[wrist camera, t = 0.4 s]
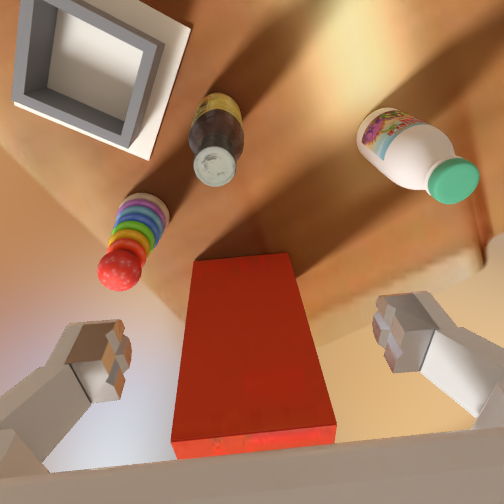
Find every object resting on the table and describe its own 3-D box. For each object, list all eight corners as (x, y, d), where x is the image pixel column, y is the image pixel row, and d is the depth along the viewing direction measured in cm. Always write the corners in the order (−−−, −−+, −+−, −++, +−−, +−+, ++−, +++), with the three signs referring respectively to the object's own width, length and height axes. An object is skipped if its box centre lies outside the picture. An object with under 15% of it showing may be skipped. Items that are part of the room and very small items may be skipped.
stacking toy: (177, 228, 56) (159, 303, 41) (132, 238, 57) (98, 316, 41) (159, 185, 52) (132, 251, 36) (111, 197, 53) (64, 267, 37)
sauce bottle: (200, 85, 45) (186, 116, 28) (245, 97, 46) (257, 135, 29) (192, 133, 48) (176, 187, 32) (234, 144, 49) (239, 201, 33)
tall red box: (288, 285, 65) (331, 460, 39) (200, 293, 65) (184, 475, 38) (287, 251, 61) (337, 422, 34) (193, 260, 60) (169, 440, 34)
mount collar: (32, -59, 36) (-2, -75, 30) (191, 29, 41) (186, 28, 36) (16, 104, 44) (-13, 114, 39) (149, 159, 50) (140, 175, 44)
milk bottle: (409, 146, 51) (498, 201, 35) (361, 167, 53) (424, 229, 36) (401, 96, 47) (497, 132, 31) (349, 120, 49) (414, 167, 32)
